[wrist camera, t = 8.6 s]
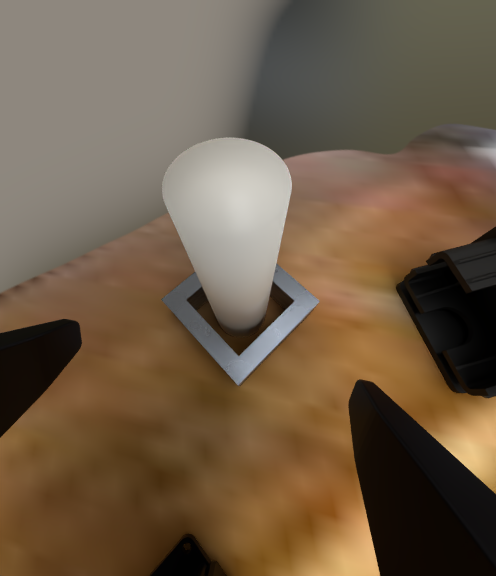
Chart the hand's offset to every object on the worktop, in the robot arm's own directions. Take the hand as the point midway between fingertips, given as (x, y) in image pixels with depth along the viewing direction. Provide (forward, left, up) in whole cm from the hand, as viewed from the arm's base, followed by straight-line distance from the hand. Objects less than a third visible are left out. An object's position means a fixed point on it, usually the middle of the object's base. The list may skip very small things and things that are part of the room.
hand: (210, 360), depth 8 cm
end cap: (+16, -10, -12) cm, 22 cm away
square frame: (+4, +3, -12) cm, 13 cm away
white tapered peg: (+4, +3, -12) cm, 13 cm away
